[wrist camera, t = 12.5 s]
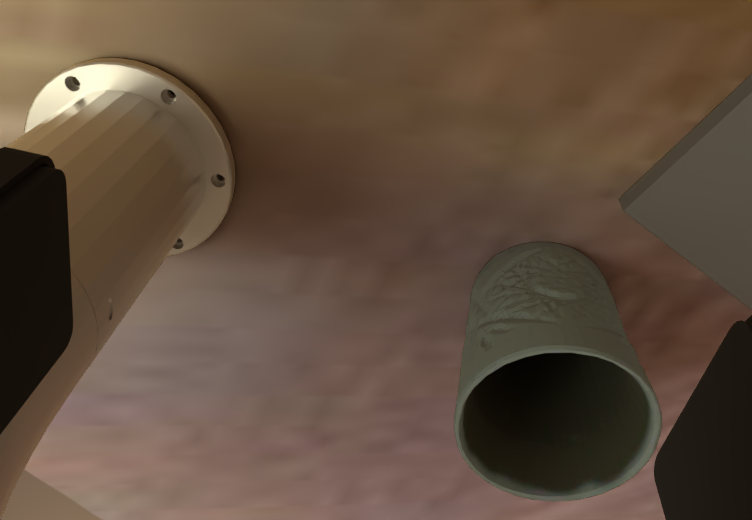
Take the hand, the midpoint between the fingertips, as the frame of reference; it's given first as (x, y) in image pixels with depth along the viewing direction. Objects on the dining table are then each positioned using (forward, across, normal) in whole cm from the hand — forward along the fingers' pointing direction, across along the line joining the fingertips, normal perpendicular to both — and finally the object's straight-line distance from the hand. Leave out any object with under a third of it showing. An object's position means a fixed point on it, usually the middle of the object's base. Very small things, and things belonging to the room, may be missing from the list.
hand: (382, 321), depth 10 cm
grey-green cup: (+31, -10, +18) cm, 37 cm away
